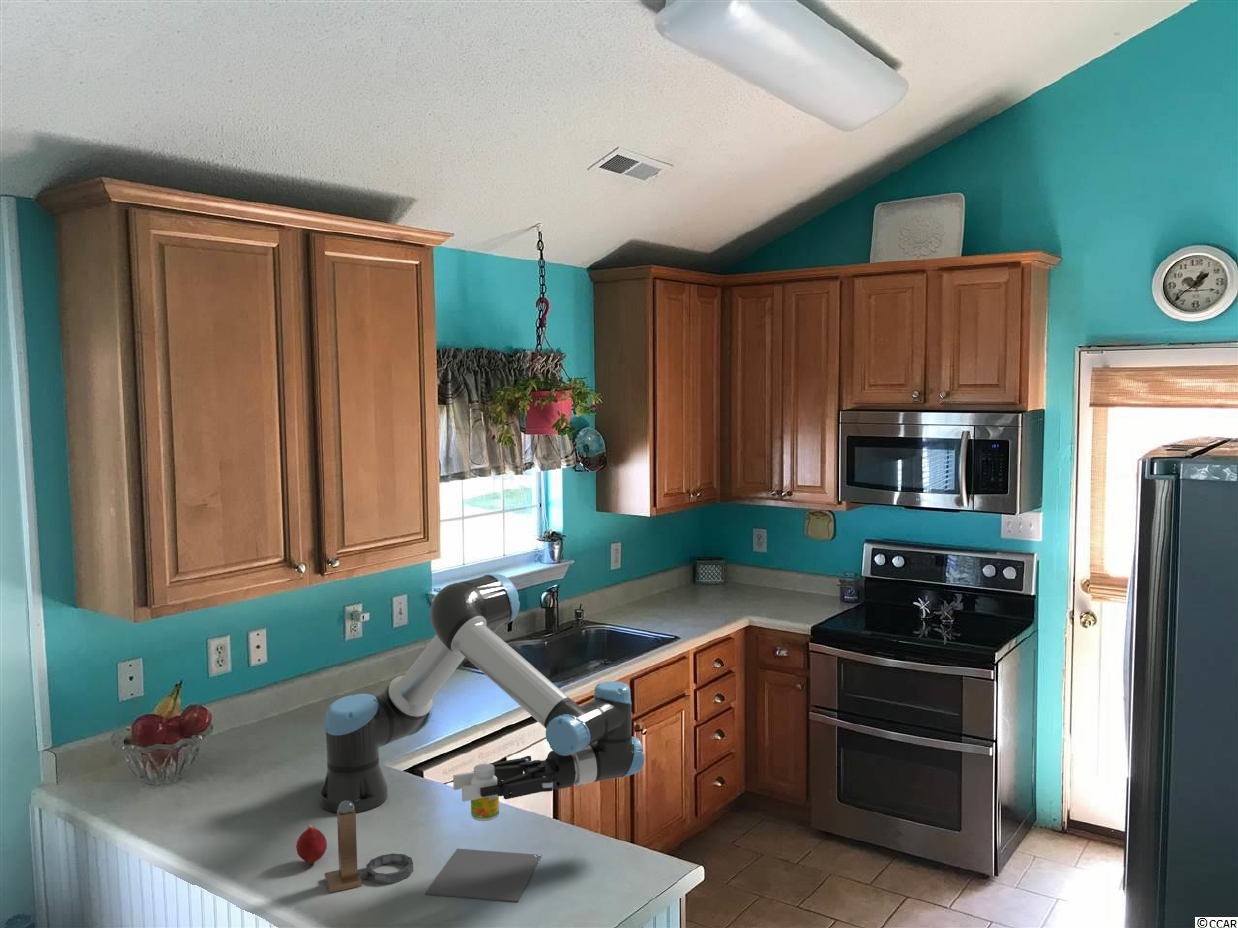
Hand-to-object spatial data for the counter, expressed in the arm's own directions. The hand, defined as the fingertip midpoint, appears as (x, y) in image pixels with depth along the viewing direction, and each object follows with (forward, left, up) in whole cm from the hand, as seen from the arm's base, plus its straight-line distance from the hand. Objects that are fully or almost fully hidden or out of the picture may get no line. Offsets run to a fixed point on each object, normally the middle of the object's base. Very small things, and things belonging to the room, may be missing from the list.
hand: (458, 788), depth 187 cm
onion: (-2, -32, -19) cm, 37 cm away
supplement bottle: (-3, +4, -7) cm, 8 cm away
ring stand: (+1, -18, -18) cm, 26 cm away
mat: (-3, +4, -18) cm, 19 cm away
